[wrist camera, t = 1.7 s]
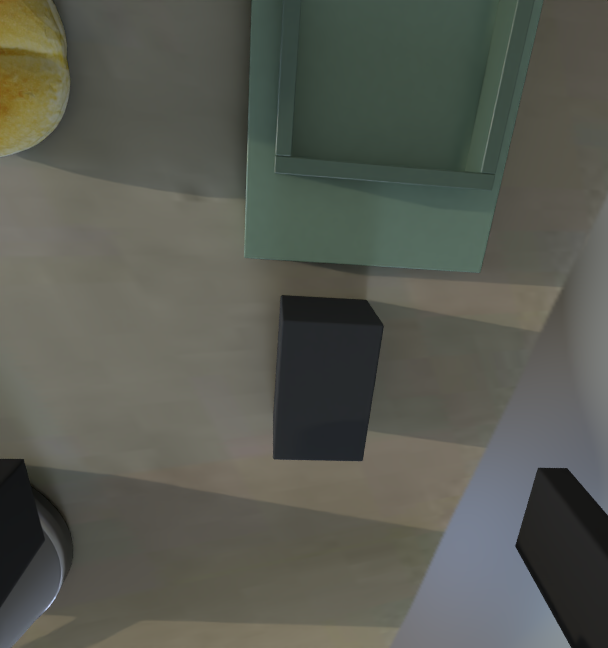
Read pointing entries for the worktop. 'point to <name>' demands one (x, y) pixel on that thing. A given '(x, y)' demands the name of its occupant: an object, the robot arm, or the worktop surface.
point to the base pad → (381, 128)
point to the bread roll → (31, 73)
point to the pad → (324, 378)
